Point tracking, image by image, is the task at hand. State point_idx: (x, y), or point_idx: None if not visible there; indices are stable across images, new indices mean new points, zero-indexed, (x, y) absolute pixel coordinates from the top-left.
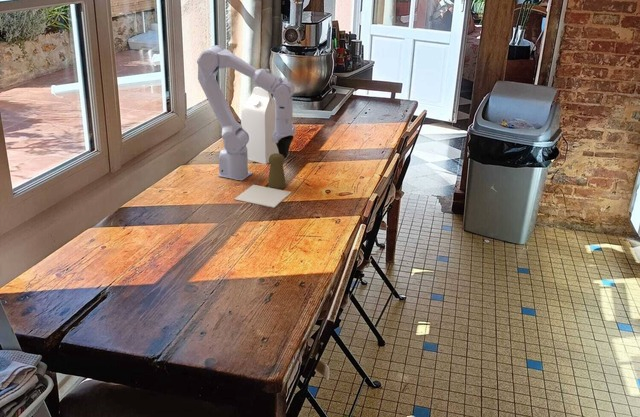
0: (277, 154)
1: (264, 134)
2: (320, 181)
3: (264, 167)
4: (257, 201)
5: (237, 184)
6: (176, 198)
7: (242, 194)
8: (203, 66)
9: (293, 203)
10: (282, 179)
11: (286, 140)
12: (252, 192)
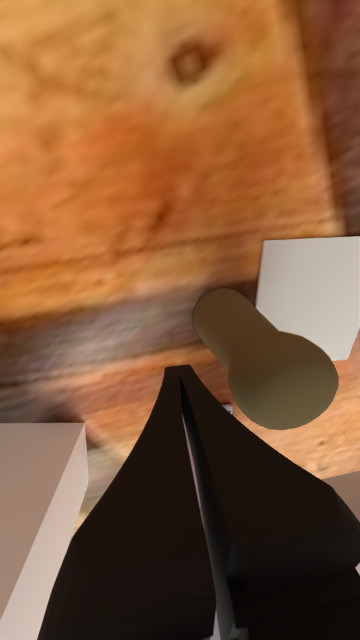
0: (298, 403)
1: (13, 591)
2: (93, 172)
3: (109, 412)
4: (357, 302)
5: None
6: (350, 438)
7: None
8: None
9: (351, 184)
10: (243, 300)
11: (353, 550)
12: None
